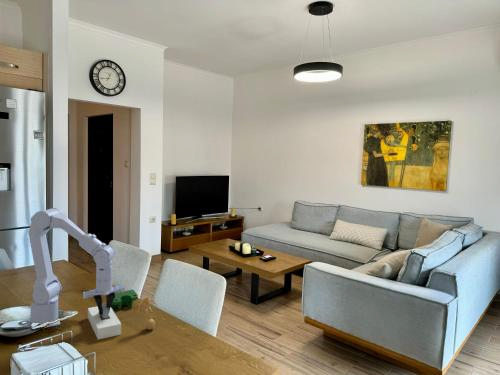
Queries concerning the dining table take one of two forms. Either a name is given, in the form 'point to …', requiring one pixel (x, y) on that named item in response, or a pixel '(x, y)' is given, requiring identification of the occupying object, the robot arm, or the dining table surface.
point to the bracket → (104, 311)
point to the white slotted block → (104, 323)
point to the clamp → (124, 299)
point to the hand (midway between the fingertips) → (103, 313)
